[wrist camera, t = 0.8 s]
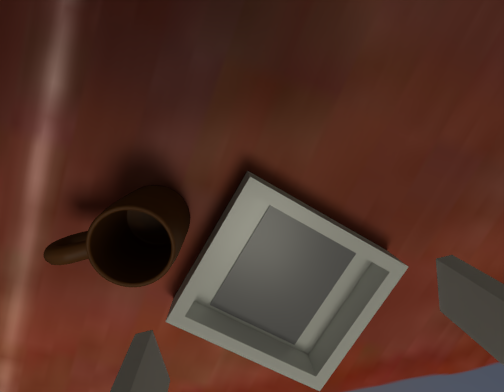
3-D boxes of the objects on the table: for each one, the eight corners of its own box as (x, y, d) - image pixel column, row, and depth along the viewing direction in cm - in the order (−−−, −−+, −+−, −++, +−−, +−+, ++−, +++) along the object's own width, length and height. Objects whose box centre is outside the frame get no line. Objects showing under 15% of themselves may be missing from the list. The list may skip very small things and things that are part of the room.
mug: (93, 258, 34) (44, 305, 25) (75, 195, 33) (15, 220, 24) (196, 242, 35) (184, 281, 26) (184, 178, 33) (166, 196, 24)
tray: (173, 298, 36) (165, 321, 32) (247, 170, 33) (250, 176, 29) (309, 362, 39) (319, 391, 35) (387, 250, 37) (408, 266, 32)
